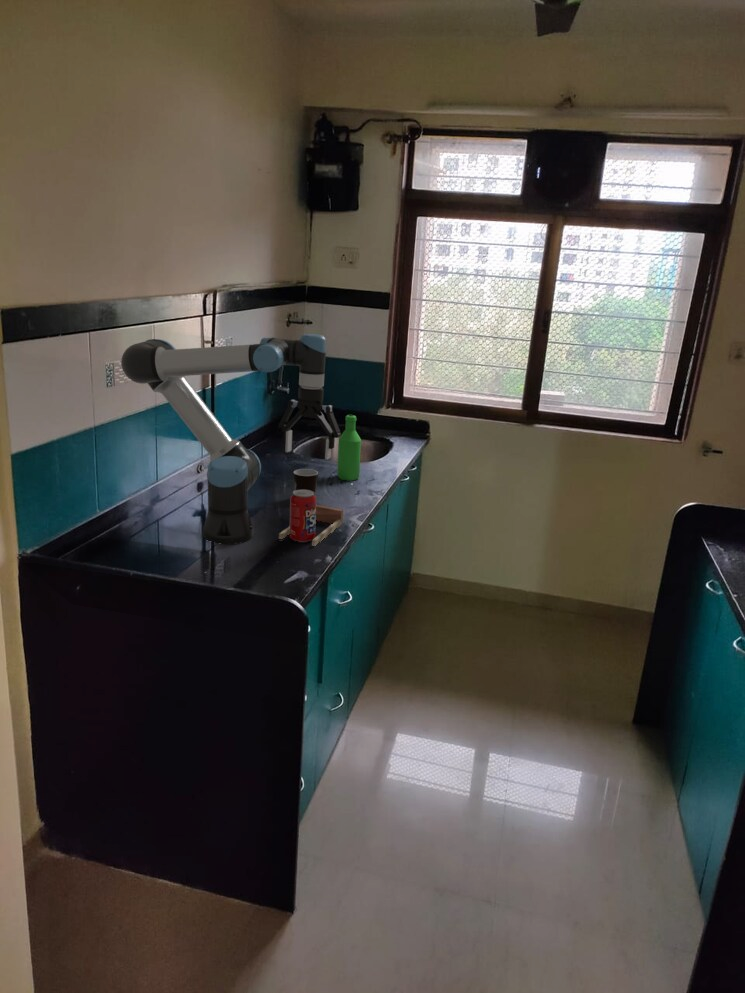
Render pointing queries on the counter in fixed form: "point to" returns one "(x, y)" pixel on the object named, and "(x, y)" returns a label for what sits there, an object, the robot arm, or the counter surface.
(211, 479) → the robot arm
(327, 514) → the guide track
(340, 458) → the bottle
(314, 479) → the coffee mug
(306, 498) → the soda can
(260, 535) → the counter surface
